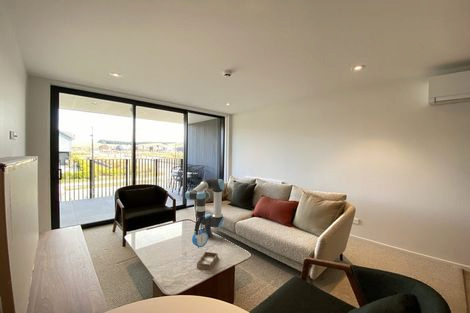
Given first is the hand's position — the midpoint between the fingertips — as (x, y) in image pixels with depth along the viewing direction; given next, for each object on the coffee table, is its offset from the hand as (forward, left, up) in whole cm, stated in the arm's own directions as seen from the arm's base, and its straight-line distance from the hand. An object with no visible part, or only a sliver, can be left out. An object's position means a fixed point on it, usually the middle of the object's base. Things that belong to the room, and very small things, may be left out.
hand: (200, 235), depth 169 cm
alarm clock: (0, 0, -10) cm, 10 cm away
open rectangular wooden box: (0, +7, -23) cm, 24 cm away
